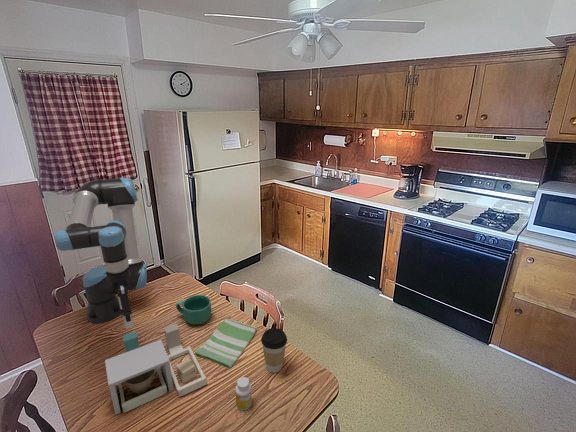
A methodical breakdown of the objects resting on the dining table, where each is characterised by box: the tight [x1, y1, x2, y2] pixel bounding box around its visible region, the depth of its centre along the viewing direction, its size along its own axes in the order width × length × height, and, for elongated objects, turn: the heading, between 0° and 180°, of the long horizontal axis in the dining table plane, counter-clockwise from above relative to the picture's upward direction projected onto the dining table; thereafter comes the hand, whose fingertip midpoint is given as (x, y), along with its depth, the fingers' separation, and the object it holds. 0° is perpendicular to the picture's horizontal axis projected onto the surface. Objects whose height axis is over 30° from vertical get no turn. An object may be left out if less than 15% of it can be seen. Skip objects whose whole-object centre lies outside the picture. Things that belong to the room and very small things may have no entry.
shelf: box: [104, 339, 174, 415], centre depth 110 cm, size 12×18×13 cm, turn 124°
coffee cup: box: [260, 327, 288, 374], centre depth 120 cm, size 10×10×15 cm
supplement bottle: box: [234, 376, 253, 411], centre depth 106 cm, size 5×5×10 cm
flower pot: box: [124, 368, 156, 395], centre depth 111 cm, size 10×10×7 cm
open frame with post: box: [164, 323, 208, 398], centre depth 120 cm, size 28×10×9 cm, turn 34°
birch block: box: [175, 358, 197, 384], centre depth 117 cm, size 5×5×5 cm
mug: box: [175, 294, 212, 325], centre depth 147 cm, size 17×13×10 cm
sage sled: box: [117, 330, 168, 414], centre depth 116 cm, size 28×14×9 cm, turn 34°
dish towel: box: [194, 317, 258, 369], centre depth 134 cm, size 18×23×3 cm
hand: (126, 317), depth 120 cm, fingers open, 13 cm apart
